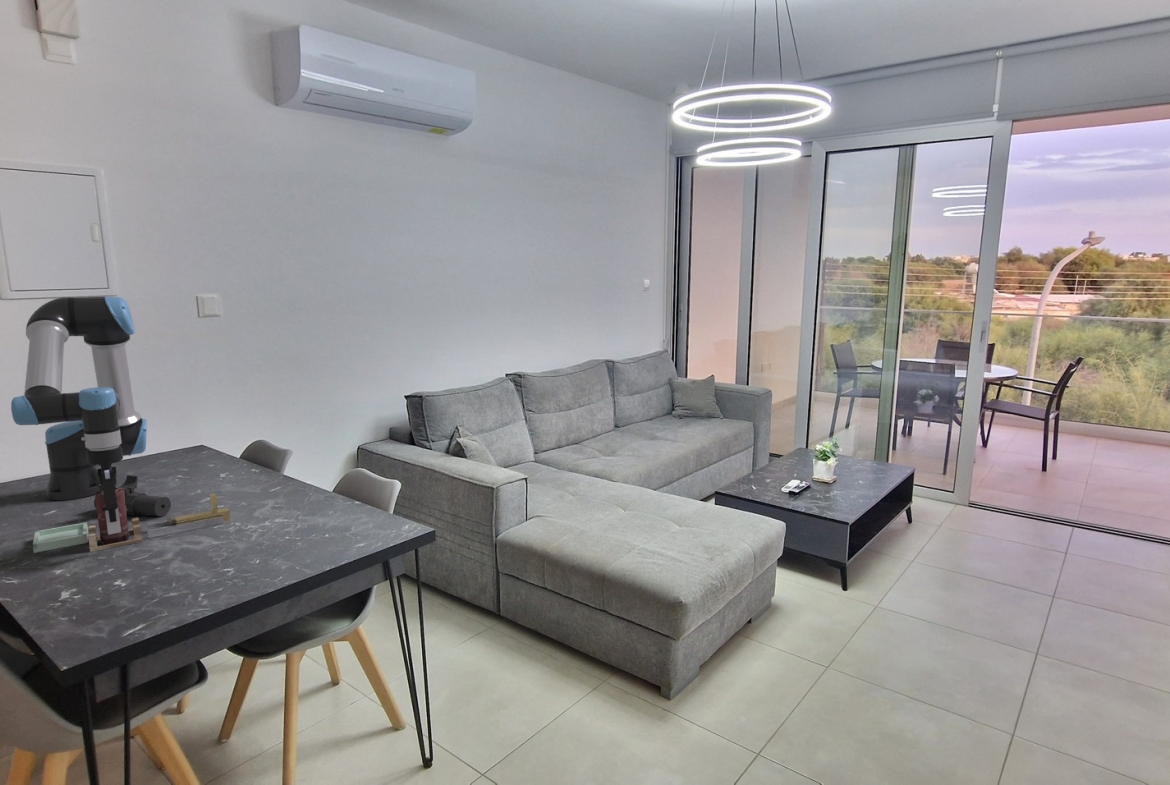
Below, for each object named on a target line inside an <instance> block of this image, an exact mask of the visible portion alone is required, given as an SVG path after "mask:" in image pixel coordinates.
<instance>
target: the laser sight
mask: <svg viewBox="0 0 1170 785" xmlns="http://www.w3.org/2000/svg"><path fill="white" fill-rule="evenodd" d="M138 479H139V476H138V475H132V474H131V475H130V474H127V475H126V479H125V481H124V483H122V484H121V485H120V486H118V487H117V488H122V489H123V490H124V495H125V506H126V514H127V515H129V516H141V515H146V516H156V517H157V516H158V517H164V516H166V515H167V514H168V513H169V512H170V511H171V507H172V502H171V500H170V498H169V497H166V496H157V495H148V494H146V493H144V492H135V490H136V489H137V487H138ZM98 487H99V489H100V490H103V487H101V486H100V484H99V485H98ZM93 505H94V508H95V509H96V501H95V499H94V500H93Z"/></svg>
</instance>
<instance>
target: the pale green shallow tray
mask: <svg viewBox="0 0 1170 785" xmlns="http://www.w3.org/2000/svg"><path fill="white" fill-rule="evenodd" d="M88 527H89V526H88V522H87V521H86V522H82V523H81V522H80V523H76V524H70V525H69V524H68V525H64V526H58V527H53V528H47V529H41V530H35V532H34V537H33V541H32V550H33V554H34V553H41V552H45V551H51V550H56V549H61V548H67V547H72V546H76V545H81V544H82V545H83V544H87V543H89V538H88Z"/></svg>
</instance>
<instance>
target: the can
mask: <svg viewBox="0 0 1170 785" xmlns="http://www.w3.org/2000/svg"><path fill="white" fill-rule="evenodd" d="M115 493H116V501H117V505H118V511H119V519H120V527H121V532H120V533H115V534H109V535H108V529H107V521H106V514H105V511H102V508H104V507H105V501H104V493H103V490H100V491H98V492H97V493H96V494H95V496H94V500H95V501H96V508H95V509H96V515H97V521H98V530H99V535H100V538H101V539H100V543H101V544H102V545H108V544H113V543H118V542H123V541H128V540H129V538H130V533H129V530H130V529H129V522H128V516H127V514H126V506H125V495H124V490H123V489H122V488H118V487H116V488H115ZM112 504H114V503H112ZM108 505H110V504H108Z"/></svg>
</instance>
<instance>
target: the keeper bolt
mask: <svg viewBox="0 0 1170 785" xmlns="http://www.w3.org/2000/svg"><path fill="white" fill-rule="evenodd" d="M209 497H210V509H211V510H207V511H201V512H197V513H192V514H185V515H179V516H175V517H169V518H166V521H167V524H168V526H171V525H176V524H182V523H187V522H192V521H198V520H203V519H208V518H213V517H219V516H223V519H224V523H225V522H229V521H231V513H230V509H229V508H228V507H225V508H218V501H217V495H216V493H215V492H212V493H209Z"/></svg>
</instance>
